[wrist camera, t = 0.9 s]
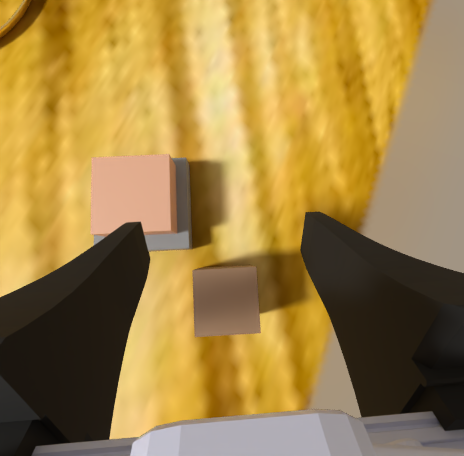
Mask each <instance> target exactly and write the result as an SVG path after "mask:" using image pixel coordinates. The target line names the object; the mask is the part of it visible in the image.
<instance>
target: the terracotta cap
mask: <svg viewBox="0 0 464 456" xmlns="http://www.w3.org/2000/svg"><path fill="white" fill-rule="evenodd" d="M126 222H141V224H142V228H143V232H144V235H158V234H177V196H176V165H175V163H174V162H173V160H172V158H171V157H170V155H169V154H164V155H140V156H117V157H93V158H92V183H91V234H92V235H98V236H104V237H106V236H108V235H109V234H110V233H112V232H113V231H114V230H116V229H117V228H119V227H120V226H121V225H123V224H125V223H126Z"/></svg>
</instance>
